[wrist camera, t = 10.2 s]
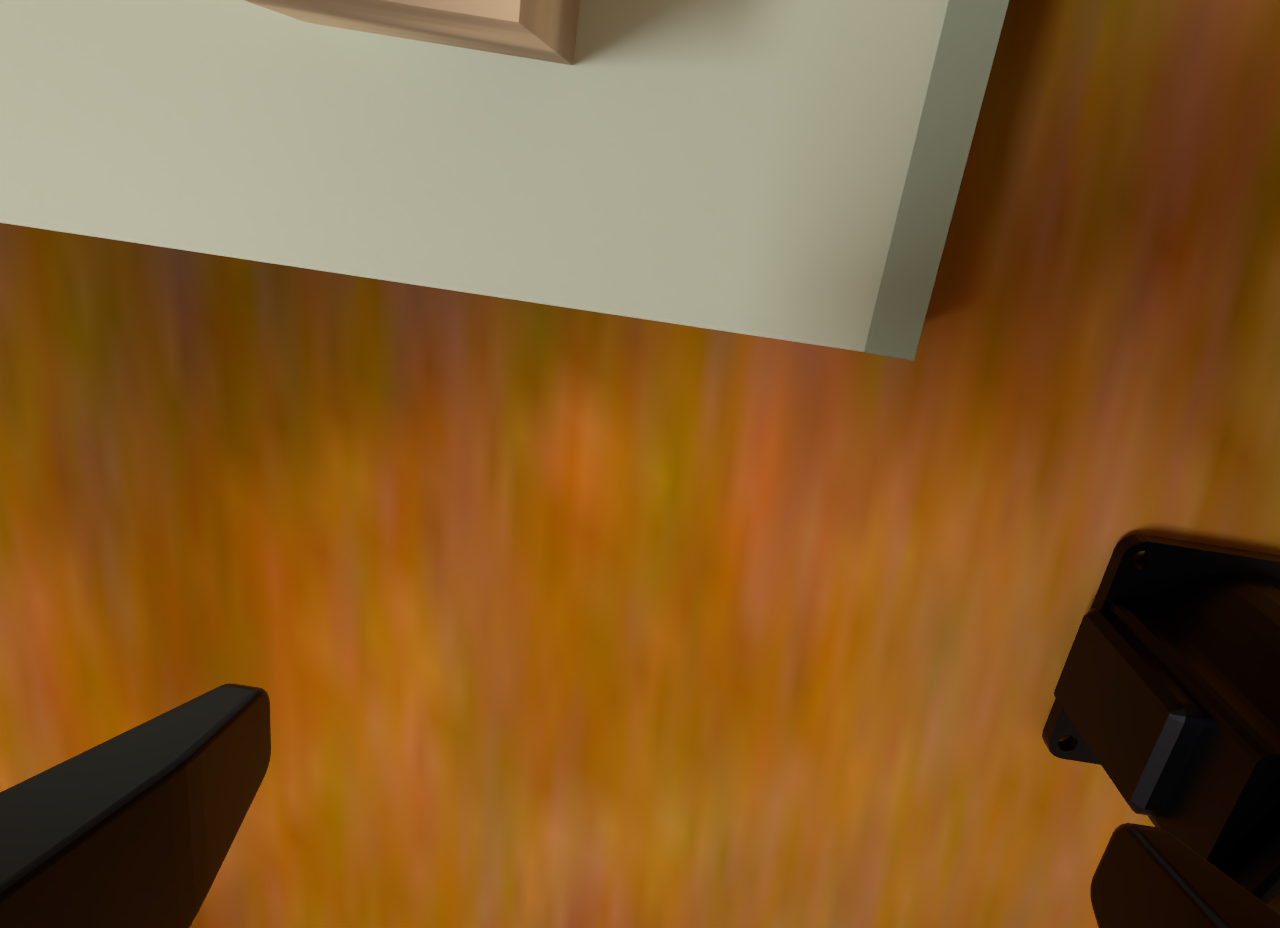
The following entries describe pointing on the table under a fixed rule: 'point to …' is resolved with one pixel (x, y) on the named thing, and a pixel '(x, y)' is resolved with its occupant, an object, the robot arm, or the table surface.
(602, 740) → the table surface
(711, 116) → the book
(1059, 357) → the table surface
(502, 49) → the maple block
